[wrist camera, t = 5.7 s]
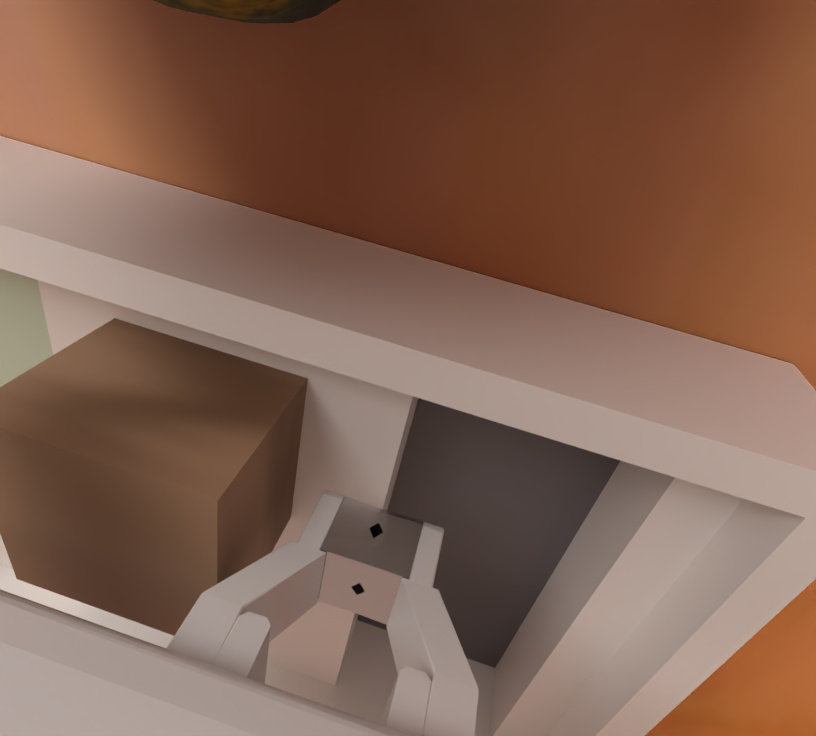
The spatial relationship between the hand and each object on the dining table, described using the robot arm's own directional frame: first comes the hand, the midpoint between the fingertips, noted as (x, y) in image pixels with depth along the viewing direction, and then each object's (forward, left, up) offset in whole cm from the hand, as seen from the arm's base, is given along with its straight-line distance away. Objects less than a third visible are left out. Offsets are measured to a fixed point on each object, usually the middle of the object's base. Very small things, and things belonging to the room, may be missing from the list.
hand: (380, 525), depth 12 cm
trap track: (+4, +3, -4) cm, 7 cm away
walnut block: (+5, 0, -1) cm, 5 cm away
